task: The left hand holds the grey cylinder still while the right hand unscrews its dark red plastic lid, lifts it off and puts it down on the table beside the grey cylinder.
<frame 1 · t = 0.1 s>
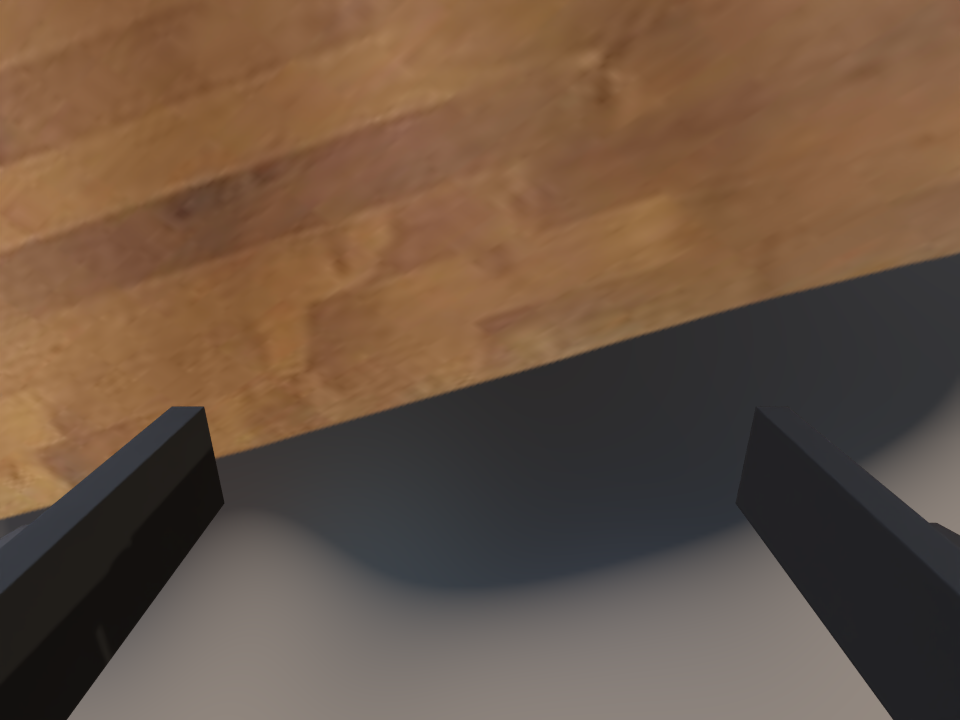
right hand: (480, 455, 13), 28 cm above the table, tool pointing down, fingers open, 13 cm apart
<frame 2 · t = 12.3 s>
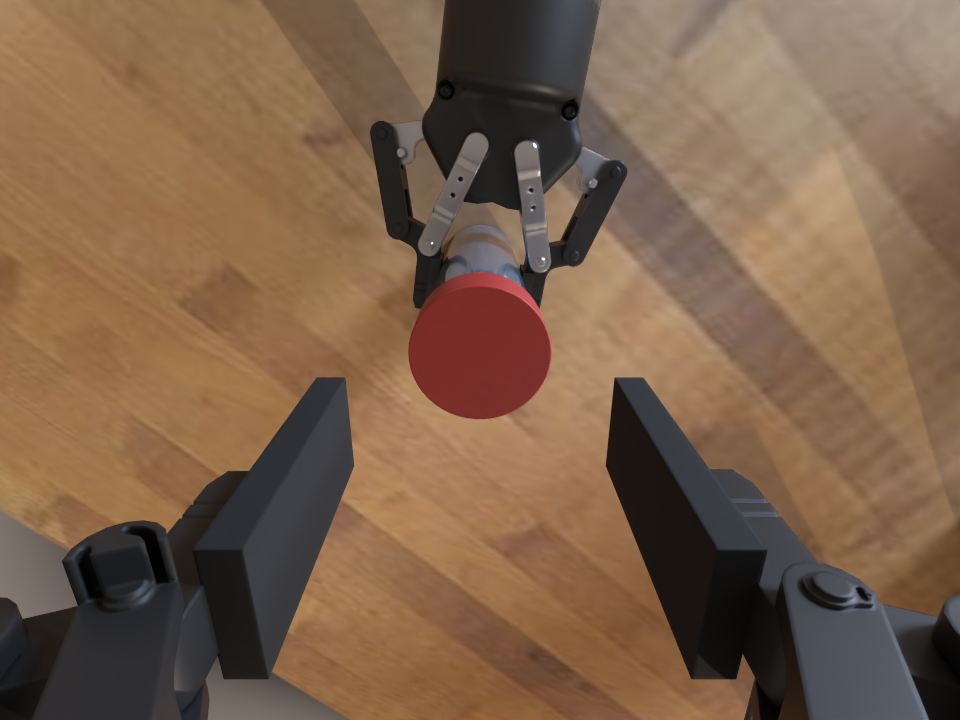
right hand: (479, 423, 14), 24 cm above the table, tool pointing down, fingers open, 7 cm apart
left hand: (473, 321, 32), fingers closed on grey cylinder, 4 cm apart
lid: (479, 352, 20), point 19 cm above the table, screwed on, not yet turned
grey cylinder: (480, 258, 37), on the table, touching left hand
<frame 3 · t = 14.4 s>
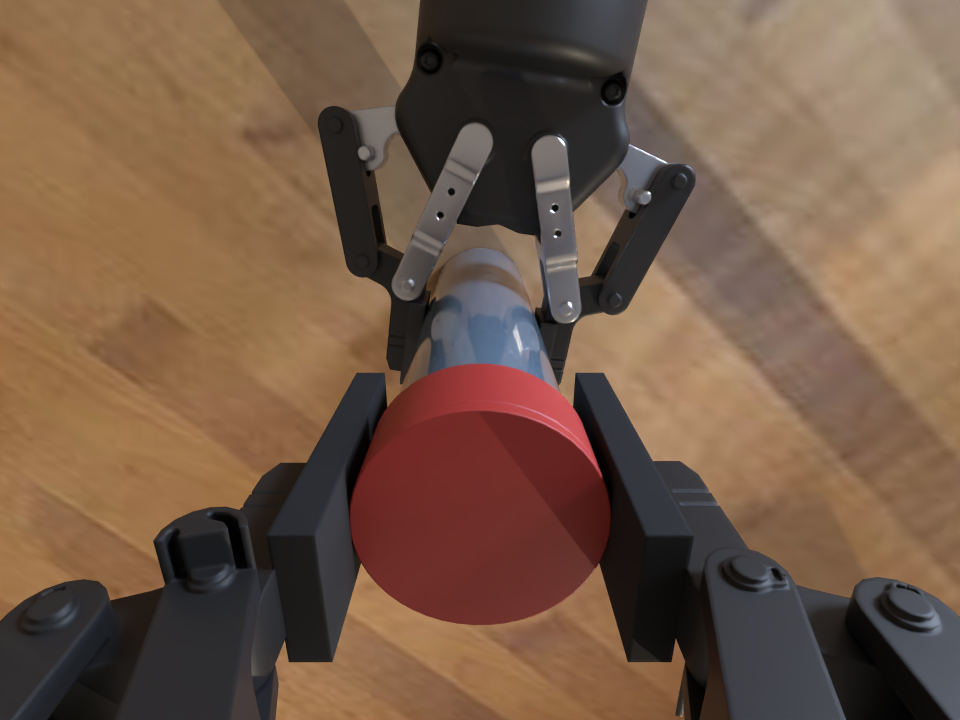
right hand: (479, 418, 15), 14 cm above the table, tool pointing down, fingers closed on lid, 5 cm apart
left hand: (471, 385, 23), fingers closed on grey cylinder, 4 cm apart
lid: (480, 516, 11), point 19 cm above the table, screwed on, not yet turned, touching right hand
grey cylinder: (480, 291, 28), on the table, touching left hand
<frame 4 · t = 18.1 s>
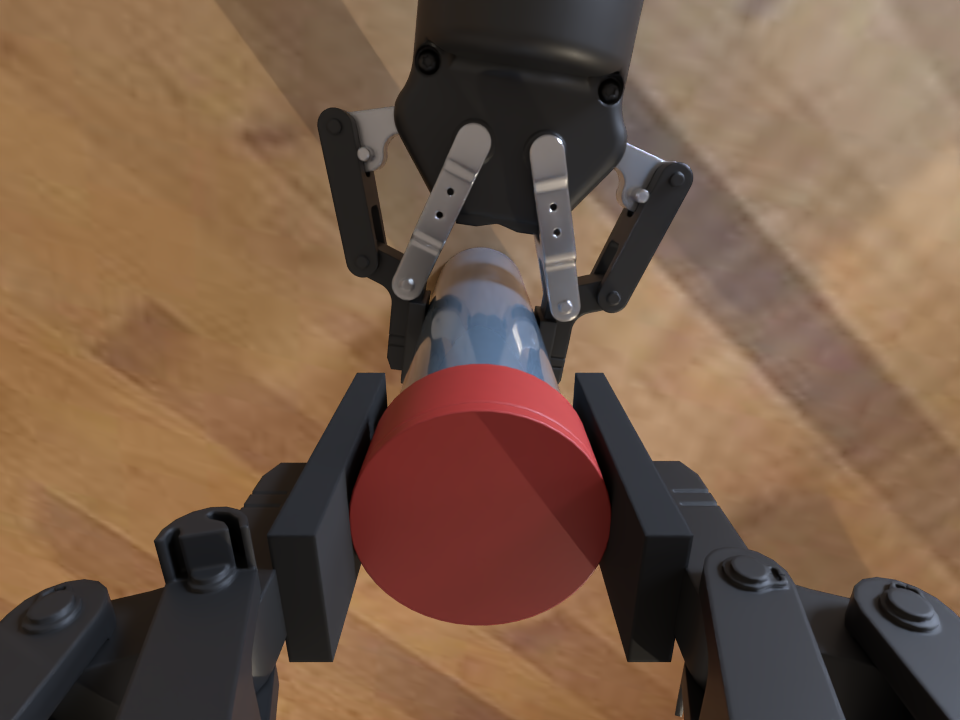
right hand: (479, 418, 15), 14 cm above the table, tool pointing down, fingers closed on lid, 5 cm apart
left hand: (472, 384, 23), fingers closed on grey cylinder, 4 cm apart
lid: (480, 516, 11), point 19 cm above the table, turned 111° so far, risen 0.1 cm, still on its thread, touching right hand
grey cylinder: (480, 291, 28), on the table, touching left hand
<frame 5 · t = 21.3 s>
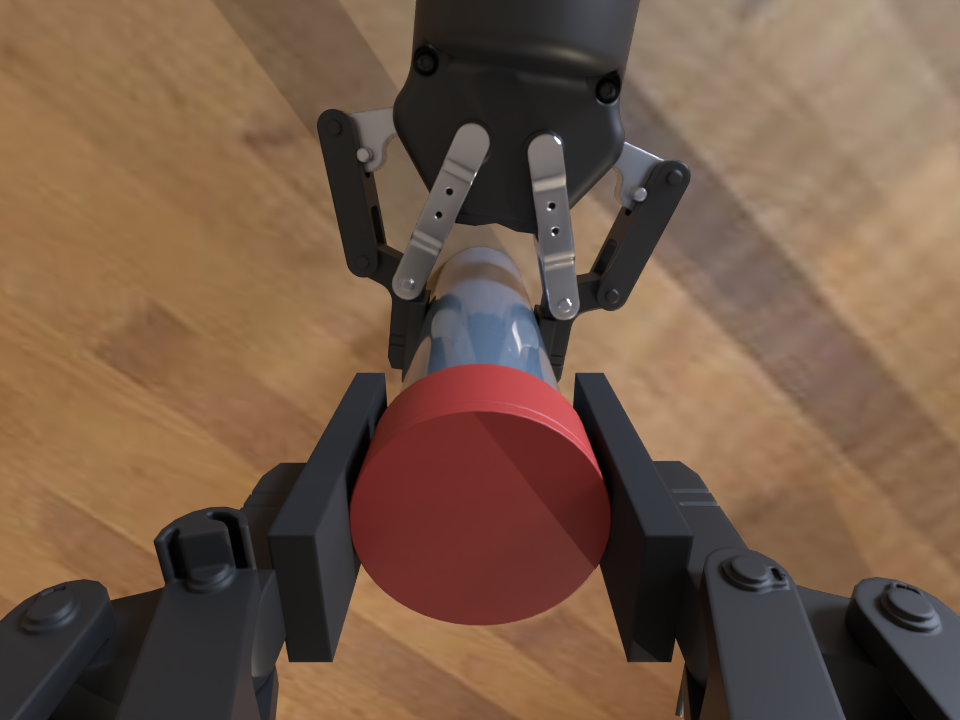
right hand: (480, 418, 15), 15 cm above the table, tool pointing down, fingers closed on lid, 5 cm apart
left hand: (472, 382, 24), fingers closed on grey cylinder, 4 cm apart
lid: (480, 516, 11), point 19 cm above the table, turned 223° so far, risen 0.3 cm, still on its thread, touching right hand
grey cylinder: (480, 290, 28), on the table, touching left hand
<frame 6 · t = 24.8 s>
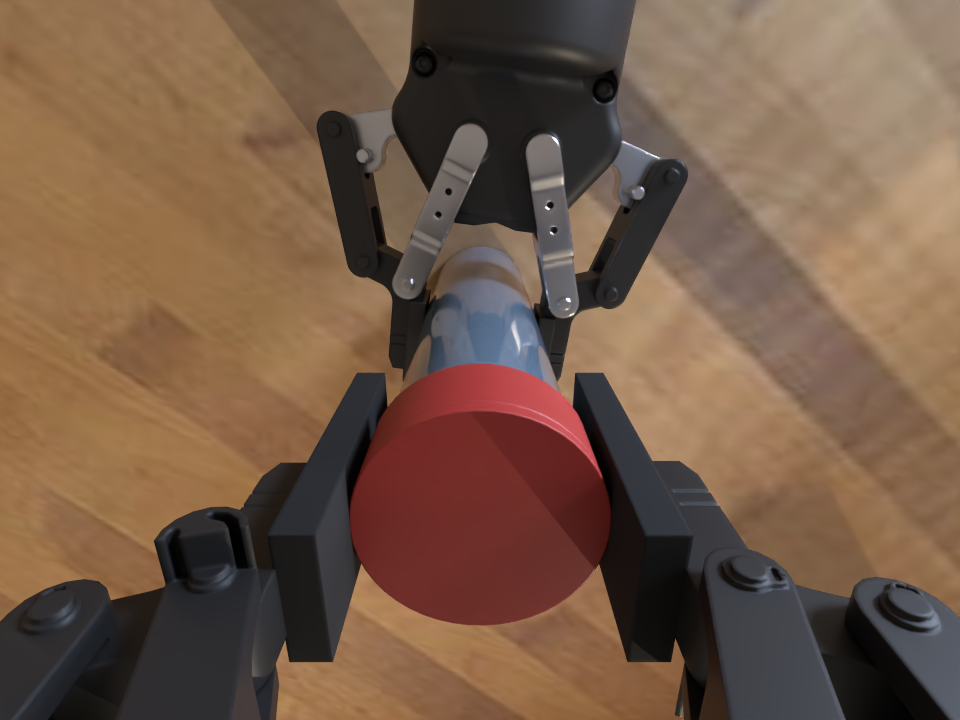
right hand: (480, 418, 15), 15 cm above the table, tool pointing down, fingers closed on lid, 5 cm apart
left hand: (473, 381, 24), fingers closed on grey cylinder, 4 cm apart
lid: (480, 516, 11), point 19 cm above the table, turned 334° so far, risen 0.4 cm, still on its thread, touching right hand
grey cylinder: (480, 289, 28), on the table, touching left hand
when the right hand's fingers open (0 cm above the table, at t = 30.8 s): lid drops 2 cm, point 2 cm above the table.
when the left hand's fingers open (6 cm above the table, at t = 32.0 s): grey cylinder stays where it is, on the table.
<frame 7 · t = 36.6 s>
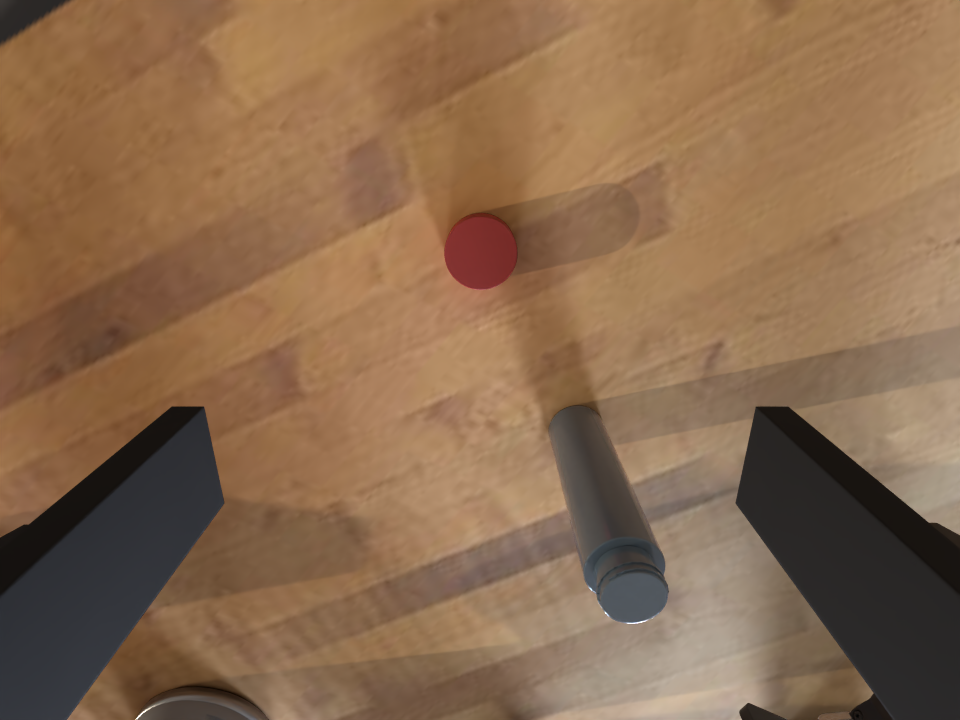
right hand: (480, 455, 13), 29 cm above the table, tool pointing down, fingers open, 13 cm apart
lid: (480, 253, 38), point 2 cm above the table, off its thread
grey cylinder: (575, 429, 45), on the table
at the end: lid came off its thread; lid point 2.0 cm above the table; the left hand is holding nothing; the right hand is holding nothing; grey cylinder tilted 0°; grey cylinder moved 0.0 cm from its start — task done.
